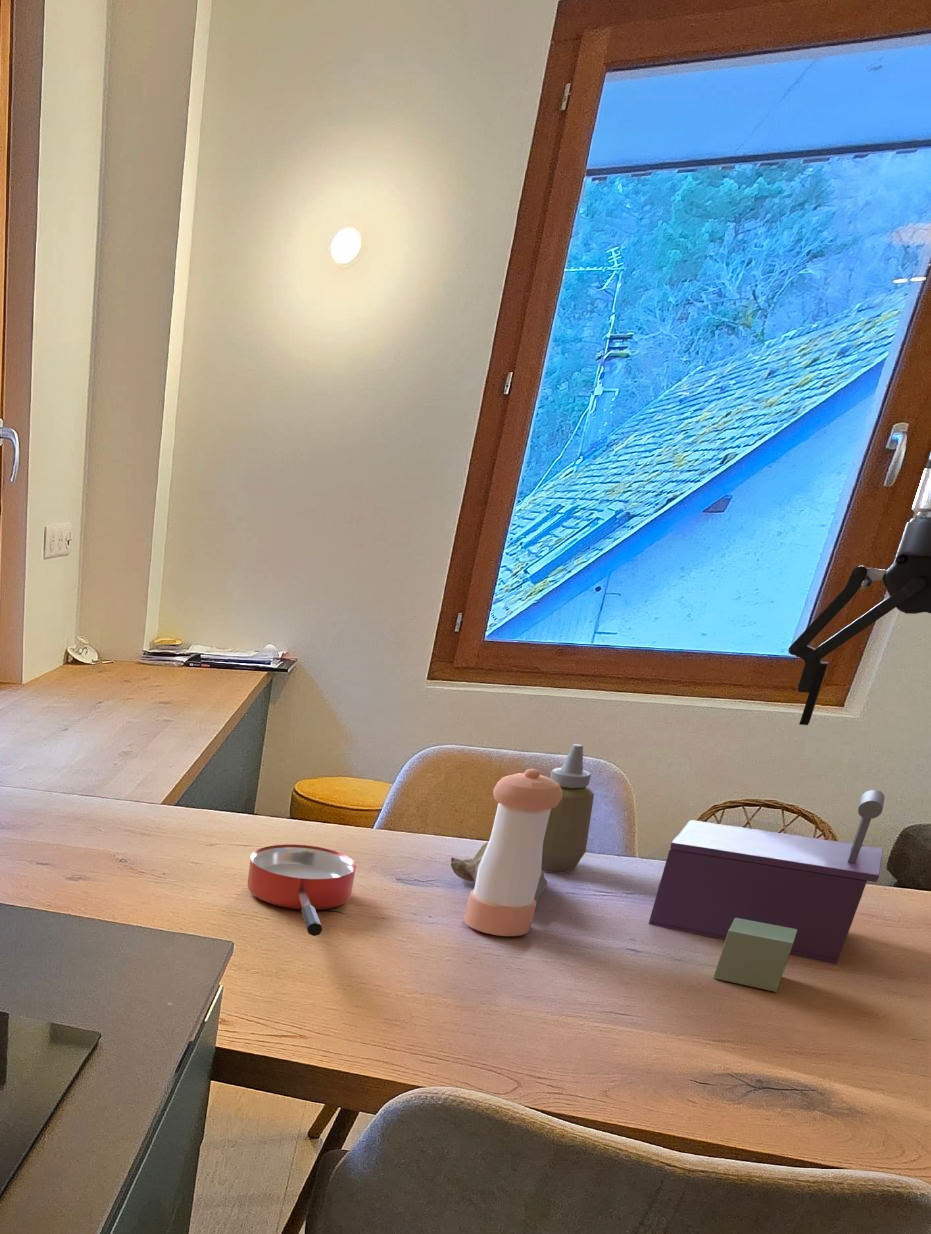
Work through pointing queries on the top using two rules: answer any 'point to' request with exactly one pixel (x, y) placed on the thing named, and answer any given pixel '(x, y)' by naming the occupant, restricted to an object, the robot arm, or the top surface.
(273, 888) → the frying pan
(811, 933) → the box
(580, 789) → the squeeze bottle
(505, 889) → the salt shaker
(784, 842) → the lid
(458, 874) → the ceramic sculpture
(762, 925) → the block
